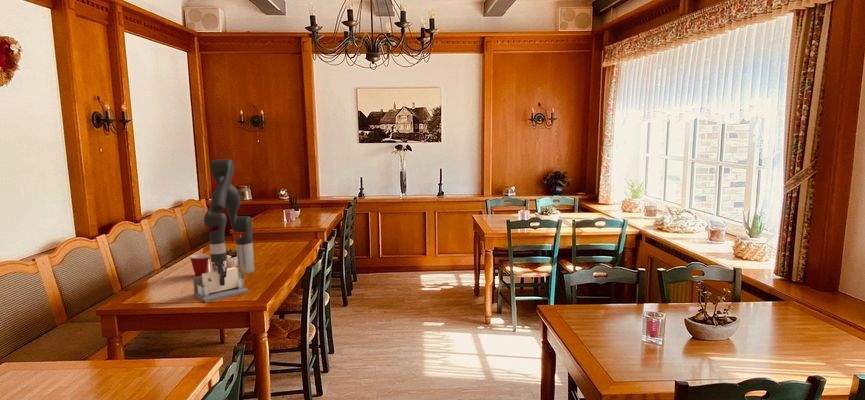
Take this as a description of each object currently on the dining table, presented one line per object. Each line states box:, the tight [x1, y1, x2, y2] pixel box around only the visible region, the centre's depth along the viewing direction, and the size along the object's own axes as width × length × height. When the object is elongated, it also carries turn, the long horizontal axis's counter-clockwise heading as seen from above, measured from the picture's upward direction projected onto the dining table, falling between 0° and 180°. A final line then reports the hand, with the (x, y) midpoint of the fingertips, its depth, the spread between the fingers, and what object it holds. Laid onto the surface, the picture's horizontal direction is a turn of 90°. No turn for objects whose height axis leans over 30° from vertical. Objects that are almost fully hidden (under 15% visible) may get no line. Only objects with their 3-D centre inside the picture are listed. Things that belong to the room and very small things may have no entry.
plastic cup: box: [188, 254, 211, 277], centre depth 304 cm, size 11×11×12 cm
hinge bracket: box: [192, 276, 250, 303], centre depth 268 cm, size 16×22×10 cm
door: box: [202, 266, 238, 293], centre depth 268 cm, size 4×17×10 cm, turn 132°
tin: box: [227, 266, 247, 280], centre depth 289 cm, size 15×3×8 cm, turn 84°
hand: (221, 284), depth 268 cm, fingers open, 3 cm apart
